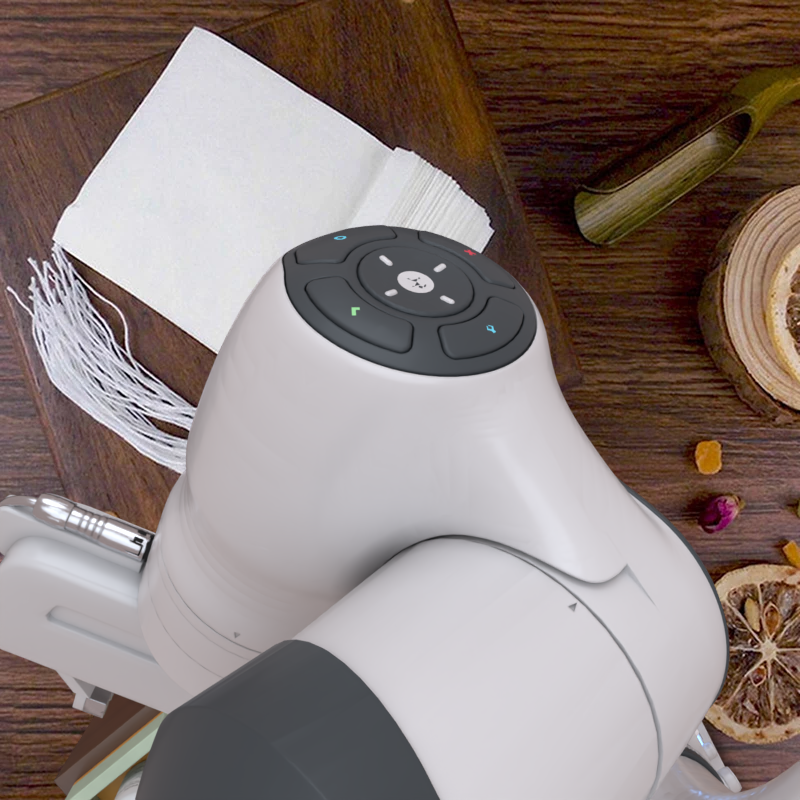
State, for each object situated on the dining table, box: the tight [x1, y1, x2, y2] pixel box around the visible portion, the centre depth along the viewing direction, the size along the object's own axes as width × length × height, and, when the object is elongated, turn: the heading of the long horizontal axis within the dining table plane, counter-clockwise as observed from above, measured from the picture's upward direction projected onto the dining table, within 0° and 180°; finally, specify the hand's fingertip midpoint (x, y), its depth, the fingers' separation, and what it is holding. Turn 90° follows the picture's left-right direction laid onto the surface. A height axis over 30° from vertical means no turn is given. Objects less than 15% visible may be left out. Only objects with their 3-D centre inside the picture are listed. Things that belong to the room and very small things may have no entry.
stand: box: [53, 693, 162, 797], centre depth 75 cm, size 9×9×26 cm
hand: (188, 735), depth 47 cm, fingers open, 8 cm apart
